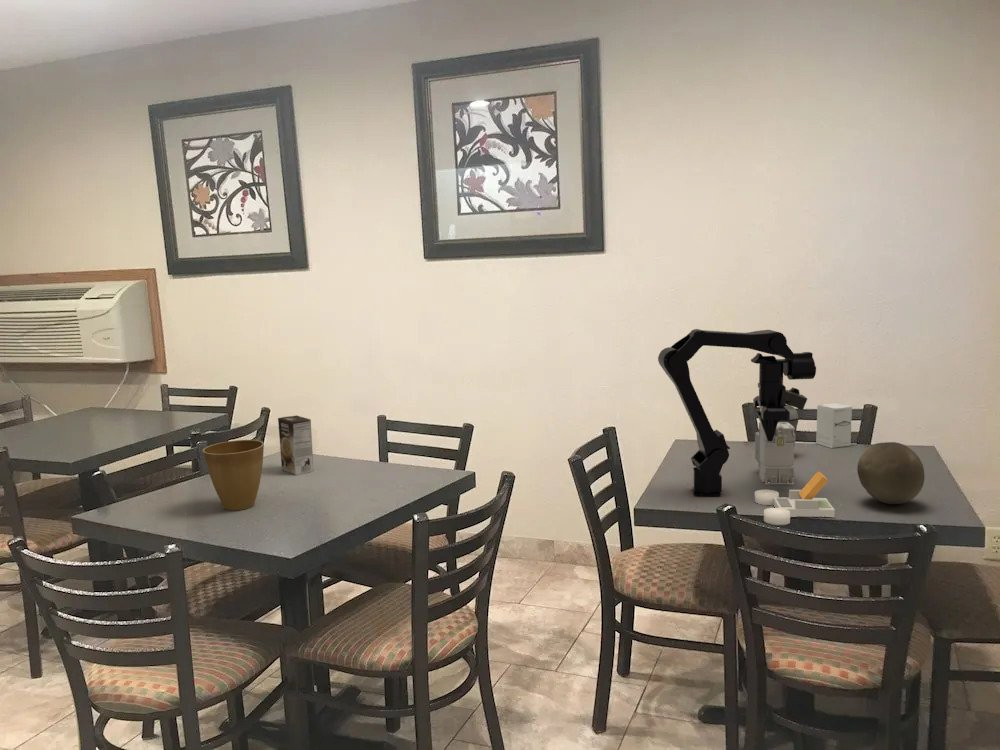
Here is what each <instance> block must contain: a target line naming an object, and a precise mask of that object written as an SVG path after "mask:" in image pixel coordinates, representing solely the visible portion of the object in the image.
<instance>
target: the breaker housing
mask: <svg viewBox="0 0 1000 750" xmlns="http://www.w3.org/2000/svg"><path fill="white" fill-rule="evenodd" d="M801 490H802V489H788V497H780V496H779V497H773V505H774V506H773V505H772V506H773V508H774V507H775V508H783V509H787V510H789V511H790V518H791V517H796V516H822V517H824V516H826V517H835V514H836V510H835V508H834V507H833V506H832V504H831V503H830V502H829V500H828V499H827V498H826V497H814V498H813V499H812V500H810V499H800V497H799V493H800V491H801ZM835 518H836V517H835Z"/></svg>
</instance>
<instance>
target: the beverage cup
mask: <svg viewBox="0 0 1000 750" xmlns="http://www.w3.org/2000/svg"><path fill="white" fill-rule="evenodd" d="M784 407H785V408H786V409H787V410H788V411H789V412H790V420H780V421H779V422H788V423H790V424H791V425H792V426H793V427H794V428H795V430H794V433H795V439H796V436H797V428H798V423H799V413H798V411H797V410H796V409H797V408H796V407H793V406H790V405H788V404H786V406H784ZM795 445H796V443H795V444H794V448H795Z"/></svg>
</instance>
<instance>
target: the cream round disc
mask: <svg viewBox="0 0 1000 750" xmlns="http://www.w3.org/2000/svg"><path fill="white" fill-rule="evenodd" d="M763 521H764V523H766V524H768V525H773V526H785V525H788V524H790V523H791V517H790V511H789V510H787V509H783V508H774V507H768V508H764V510H763Z"/></svg>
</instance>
